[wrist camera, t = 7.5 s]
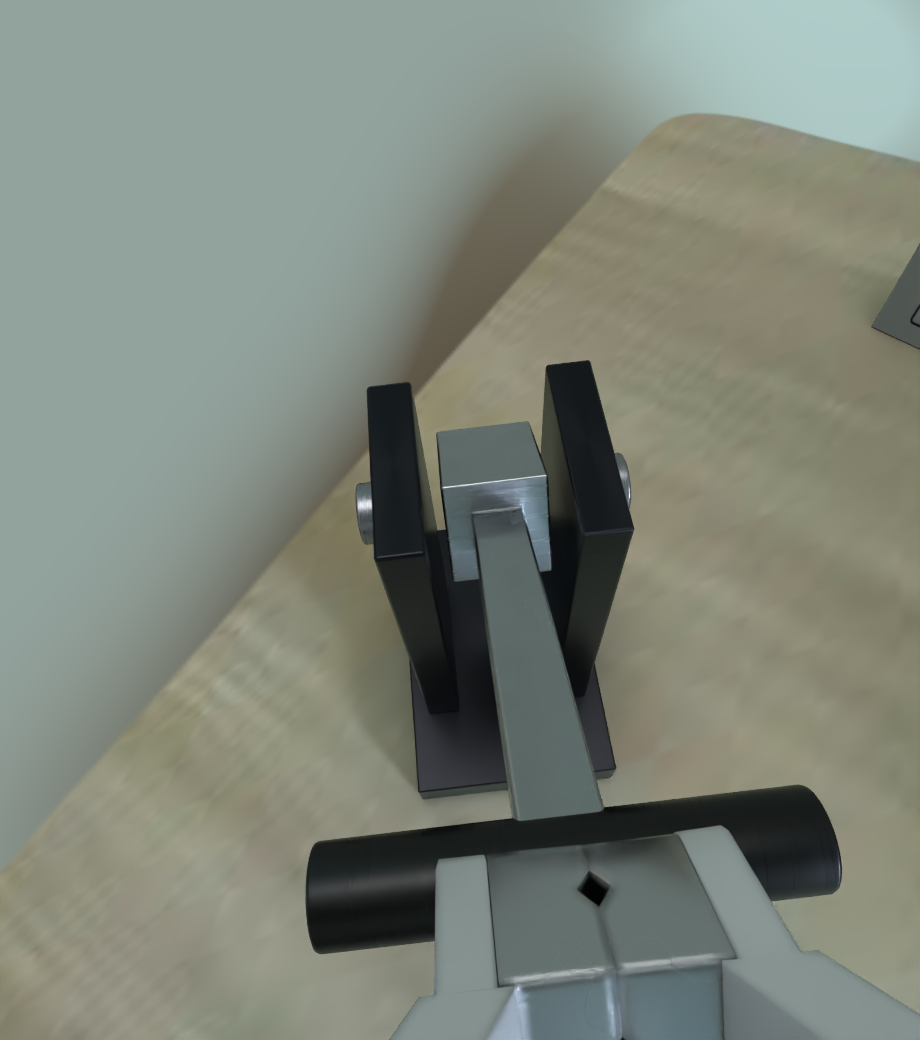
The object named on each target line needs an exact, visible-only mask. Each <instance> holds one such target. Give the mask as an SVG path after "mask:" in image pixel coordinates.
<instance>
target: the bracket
mask: <svg viewBox="0 0 920 1040" xmlns="http://www.w3.org/2000/svg"><path fill="white" fill-rule="evenodd" d="M367 408H368V430H369V454H370V477H371V482H368V483H360V484H358V485H357V487H356V510H357V519H358V525H359V530H360V534H361V538H362V541H363V543H364V544H366V545H369V544H373V545H374V560H375V563H376V566H377V568H378V571H379V574H380V577H381V580H382V582H383V585H384V588H385V591H386V594H387V597H388V599H389V602H390V605H391V608H392V611H393V613H394V616H395V619H396V622H397V625H398V628H399V630H400V633H401V636H402V639H403V642H404V644H405V647H406V650H407V653H408V656H409V661H410V675H411V690H412V705H413V720H414V735H415V750H416V765H417V779H418V792H419V793H420V795H421V797H422V798H423V799H430V798H439V797H447V796H456V795H464V794H473V793H481V792H490V791H498V790H507V789H508V784H507V777H506V770H505V763H504V756H503V749H502V742H501V735H500V728H499V720H498V713H497V706H496V699H495V692H494V685H493V678H492V671H491V664H490V656H489V649H488V642H487V635H486V628H485V621H484V614H483V607H482V600H481V592H480V585H479V579H476V580H468V581H459V582H454V581H453V579H452V572H451V564H450V557H449V549H448V542H447V534H446V530H439V531H437V526H436V520H435V515H434V509H433V503H432V498H431V492H430V486H429V481H428V475H427V470H426V464H425V458H424V453H423V447H422V442H421V436H420V430H419V425H418V419H417V413H416V408H415V402H414V397H413V392H412V386H411V384H410V383H409V382H404V383H396V384H388V385H380V386H371V387H368V389H367ZM541 457H542V460H543V463H544V466H545V468H546V471H547V474H548V482H549V505H550V529H551V552H552V570H550V571H544V572H540V573H541V577H542V581H543V584H544V588H545V592H546V596H547V599H548V603H549V607H550V610H551V614H552V618H553V621H554V625H555V629H556V632H557V636H558V640H559V644H560V647H561V651H562V655H563V658H564V662H565V666H566V669H567V673H568V677H569V681H570V684H571V688H572V692H573V695H574V699H575V703H576V706H577V710H578V714H579V717H580V721H581V725H582V729H583V732H584V736H585V740H586V743H587V747H588V751H589V754H590V758H591V762H592V765H593V769H594V773H595V777H596V779H600V778H608V777H611V776H612V775H613V773H614V771H615V770H616V765H615V761H614V756H613V751H612V746H611V741H610V736H609V731H608V727H607V722H606V717H605V712H604V707H603V702H602V698H601V693H600V688H599V683H598V678H597V673H596V668H595V664H594V663H595V660H596V656H597V653H598V650H599V646H600V643H601V639H602V636H603V633H604V629H605V626H606V623H607V619H608V616H609V612H610V609H611V606H612V602H613V599H614V595H615V592H616V589H617V585H618V582H619V579H620V575H621V572H622V568H623V565H624V562H625V558H626V555H627V552H628V548H629V545H630V541H631V538H632V535H633V531H634V526H633V522H632V518H631V515H630V511H629V508H630V503H631V485H630V477H629V472H628V467H627V464H626V461H625V459H624V457H623V455H622V454H620V453H614V450H613V446H612V442H611V438H610V435H609V431H608V427H607V423H606V419H605V416H604V412H603V408H602V404H601V400H600V397H599V393H598V389H597V385H596V381H595V378H594V374H593V370H592V366H591V363H590V361H588V360H586V361H578V362H569V363H561V364H552V365H547V366H546V374H545V390H544V407H543V424H542V440H541Z"/></svg>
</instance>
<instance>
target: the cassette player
mask: <svg viewBox="0 0 920 1040" xmlns="http://www.w3.org/2000/svg"><path fill="white" fill-rule="evenodd" d="M872 327H874V328H876V329H878V330H880V331H883V332H885V333H887V334H889V335H891V336H893V337H895V338H898V339H900V340H902V341H904V342H906V343H908V344H911V345H913V346H915V347H917V348H919V349H920V244H919V246H918V248H917V250H916V251H915V253H914V255H913V256H912V258H911V260H910V262H909V263H908V265H907V267H906V268H905V270H904V272H903V274H902V275H901V277H900V279H899V280H898V282H897V284H896V286H895V287H894V289H893V291H892V292H891V294H890V296H889V298H888V299H887V301H886V303H885V304H884V306H883V308H882V310H881V311H880V313H879V315H878V316H877V318H876V320H875V322H874V323H873V325H872Z"/></svg>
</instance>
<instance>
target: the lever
mask: <svg viewBox="0 0 920 1040" xmlns="http://www.w3.org/2000/svg"><path fill="white" fill-rule="evenodd" d="M436 436H437V449H438V463H439V476H440V489H441V496H442V504H443V511H444V519H445V527H446V534H447V542H448V549H449V557H450V564H451V572H452V579H453V581H454V582H459V581H468V580H476V579H479V585H480V592H481V600H482V607H483V614H484V621H485V628H486V635H487V642H488V649H489V656H490V664H491V671H492V678H493V685H494V692H495V699H496V706H497V713H498V720H499V728H500V735H501V742H502V749H503V756H504V763H505V770H506V777H507V784H508V792H509V799H510V806H511V813H512V818H511V819H503V820H494V821H486V822H477V823H469V824H460V825H452V826H443V827H435V828H426V829H418V830H409V831H401V832H392V833H384V834H375V835H367V836H358V837H350V838H341V839H333V840H324V841H319V842H317V843H315V844H314V845H313V847H312V850H311V853H310V857H309V861H308V867H307V875H306V917H307V926H308V932H309V936H310V940H311V943H312V946H313V949H314V950H315V952H316V953H319V954H328V953H337V952H345V951H354V950H362V949H371V948H379V947H388V946H396V945H405V944H413V943H422V942H430V941H435V891H436V867H437V864H438V860H439V859H446V858H455V857H465V856H475V855H485V856H486V859H487V854H489V853H499V852H510V851H521V850H531V849H542V848H552V847H563V846H573V845H586V844H594V843H602V842H610V841H618V840H626V839H634V838H642V837H650V836H658V835H666V834H674V832H678V831H685V830H692V829H699V828H706V827H713V826H720V825H721V826H723V827H724V828H726V829H727V830H729V832H730V833H731V835H732V837H733V838H734V840H735V842H736V843H737V845H738V847H739V848H740V850H741V852H742V853H743V855H744V857H745V858H746V860H747V862H748V863H749V865H750V867H751V868H752V870H753V872H754V873H755V875H756V877H757V878H758V880H759V882H760V883H761V885H762V887H763V888H764V890H765V892H766V893H767V895H768V897H769V898H770V900H771V901H778V900H787V899H795V898H804V897H812V896H821V895H829V894H833V893H834V892H835V891H837V890H838V888H839V886H840V883H841V877H842V865H841V856H840V851H839V846H838V842H837V839H836V835H835V832H834V829H833V827H832V824H831V822H830V819H829V817H828V815H827V813H826V811H825V809H824V807H823V805H822V804H821V802H820V800H819V799H818V798H817V796H816V795H815V794H814V793H813V792H812V791H811V790H810V789H809V788H807V787H805V786H802V785H791V786H782V787H774V788H765V789H757V790H748V791H740V792H731V793H723V794H714V795H706V796H697V797H689V798H681V799H672V800H664V801H655V802H647V803H638V804H630V805H621V806H613V807H604V806H603V802H602V799H601V795H600V791H599V788H598V784H597V780H596V777H595V773H594V769H593V765H592V762H591V758H590V754H589V751H588V747H587V743H586V740H585V736H584V732H583V729H582V725H581V721H580V717H579V714H578V710H577V706H576V703H575V699H574V695H573V692H572V688H571V684H570V681H569V677H568V673H567V669H566V666H565V662H564V658H563V655H562V651H561V647H560V644H559V640H558V636H557V632H556V629H555V625H554V621H553V618H552V614H551V610H550V607H549V603H548V599H547V596H546V592H545V588H544V584H543V581H542V577H541V573H540V572H544V571H550V570H552V552H551V529H550V505H549V482H548V474H547V471H546V468H545V466H544V463H543V460H542V457H541V454H540V452H539V449H538V446H537V443H536V441H535V438H534V435H533V432H532V429H531V427H530V424H529V422H527V421H526V422H517V423H509V424H501V425H492V426H484V427H475V428H467V429H458V430H450V431H442V432H437V434H436ZM487 865H488V861H487Z"/></svg>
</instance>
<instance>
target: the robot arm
mask: <svg viewBox="0 0 920 1040" xmlns="http://www.w3.org/2000/svg"><path fill="white" fill-rule="evenodd" d="M487 861H488V865H487ZM389 1040H920V1014H918V1013H917V1012H915V1011H914V1010H912V1009H910V1008H909V1007H907V1006H906V1005H904V1004H903V1003H901V1002H899V1001H898V1000H896V999H895V998H893V997H891V996H890V995H888V994H887V993H885V992H884V991H882V990H880V989H879V988H877V987H876V986H874V985H872V984H871V983H869V982H868V981H866V980H865V979H863V978H861V977H860V976H858V975H857V974H855V973H853V972H852V971H850V970H849V969H847V968H846V967H844V966H842V965H841V964H839V963H838V962H836V961H834V960H833V959H831V958H830V957H828V956H826V955H825V954H823V953H822V952H820V951H819V950H814V951H805V952H802V951H801V950H800V948H799V946H798V945H797V943H796V941H795V940H794V938H793V936H792V935H791V933H790V932H789V930H788V928H787V927H786V925H785V923H784V922H783V920H782V918H781V917H780V915H779V913H778V912H777V910H776V908H775V907H774V905H773V903H772V902H771V900H770V898H769V897H768V895H767V893H766V892H765V890H764V888H763V887H762V885H761V883H760V882H759V880H758V878H757V877H756V875H755V873H754V872H753V870H752V868H751V867H750V865H749V863H748V862H747V860H746V858H745V857H744V855H743V853H742V852H741V850H740V848H739V847H738V845H737V843H736V842H735V840H734V838H733V837H732V835H731V833H730V832H729V830H727V829H726V828H724V827H723V826H721V825H720V826H713V827H706V828H699V829H692V830H685V831H678V832H674V834H666V835H658V836H650V837H642V838H634V839H626V840H618V841H610V842H602V843H594V844H586V845H573V846H563V847H552V848H542V849H531V850H521V851H510V852H499V853H489V854H487V859H486V856H485V855H475V856H465V857H455V858H446V859H439V860H438V864H437V867H436V891H435V980H434V995H433V996H425V997H419V998H418V999H417V1000H416V1002H415V1003H414V1005H413V1006H412V1008H411V1009H410V1010H409V1012H408V1013H407V1015H406V1016H405V1018H404V1019H403V1021H402V1022H401V1023H400V1025H399V1026H398V1028H397V1029H396V1031H395V1032H394V1033H393V1035H392V1036H391V1038H390V1039H389Z"/></svg>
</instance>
